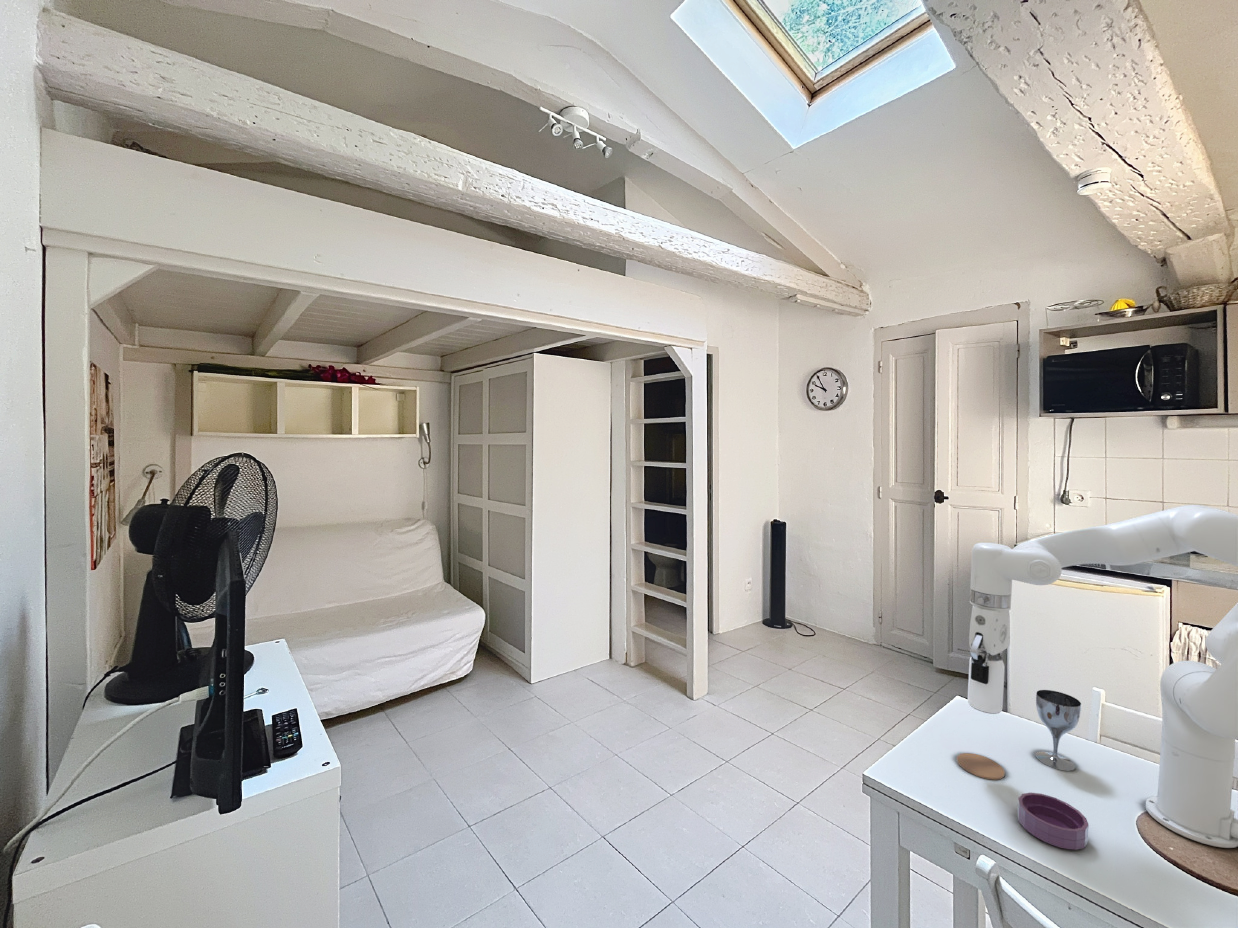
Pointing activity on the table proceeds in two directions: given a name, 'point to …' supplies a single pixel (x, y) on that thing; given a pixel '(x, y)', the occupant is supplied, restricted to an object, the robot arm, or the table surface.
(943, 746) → the table surface
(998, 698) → the can
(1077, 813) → the dish
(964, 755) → the coaster
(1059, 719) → the wine glass
